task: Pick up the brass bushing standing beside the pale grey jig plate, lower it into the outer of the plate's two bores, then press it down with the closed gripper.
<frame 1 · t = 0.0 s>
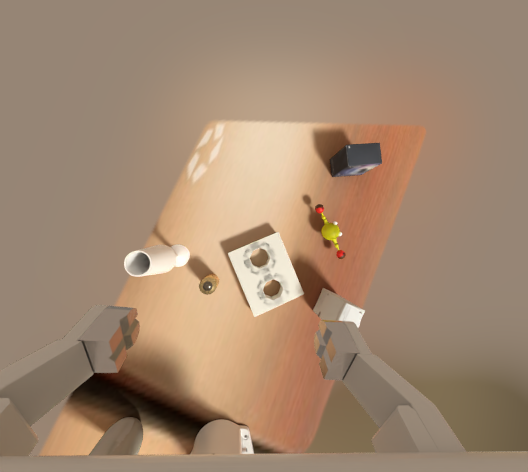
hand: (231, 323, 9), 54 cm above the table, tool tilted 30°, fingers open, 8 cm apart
bushing: (211, 281, 62), on the table
champagne flute: (178, 255, 61), on the table
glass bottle: (131, 426, 58), on the table
jig: (265, 272, 64), on the table
small box: (345, 167, 68), on the table
toy figure: (324, 232, 67), on the table
skincare box: (325, 303, 66), on the table
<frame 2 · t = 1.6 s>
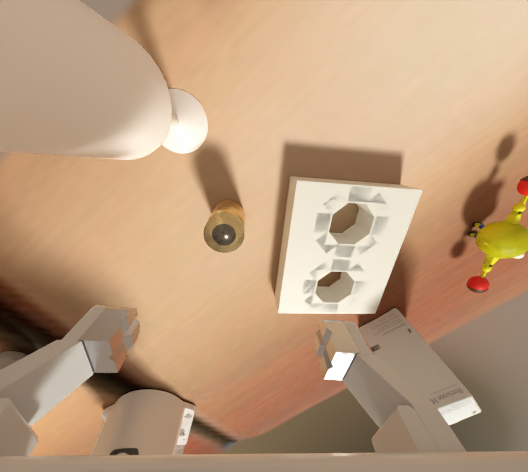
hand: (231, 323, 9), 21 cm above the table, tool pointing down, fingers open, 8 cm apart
bushing: (228, 215, 29), on the table
champagne flute: (179, 123, 24), on the table
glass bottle: (22, 358, 37), on the table
jig: (331, 245, 32), on the table
toy figure: (472, 228, 33), on the table
skincare box: (380, 325, 41), on the table
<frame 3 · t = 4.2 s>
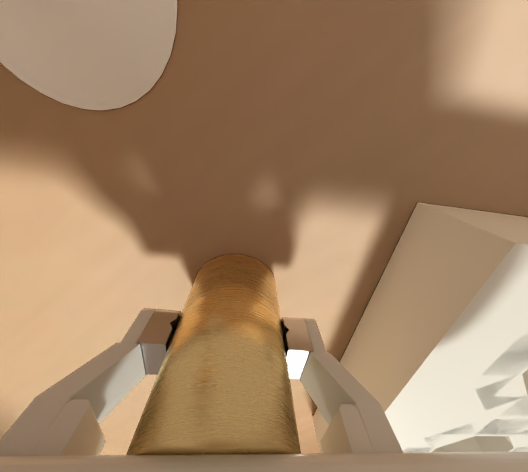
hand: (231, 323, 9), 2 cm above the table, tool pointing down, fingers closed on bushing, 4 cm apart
bushing: (235, 288, 11), on the table, touching gripper
jig: (453, 348, 15), on the table
when the fingers open (5 cm above the table, at t = 9.0 s): bushing drops 3 cm, resting in jig.
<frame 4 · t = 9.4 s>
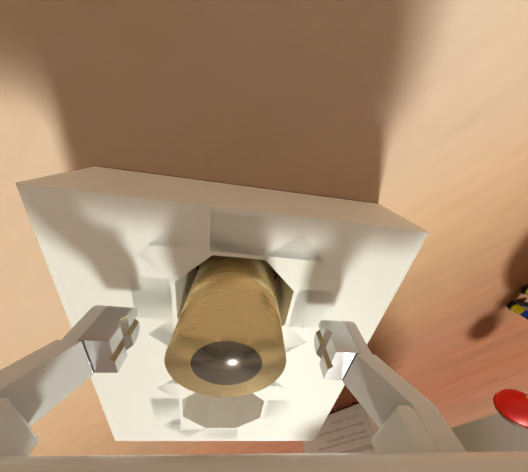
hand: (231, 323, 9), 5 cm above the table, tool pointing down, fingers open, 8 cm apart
bushing: (238, 259, 14), resting in jig
jig: (233, 314, 16), on the table
toy figure: (518, 295, 17), on the table
skincare box: (337, 420, 25), on the table
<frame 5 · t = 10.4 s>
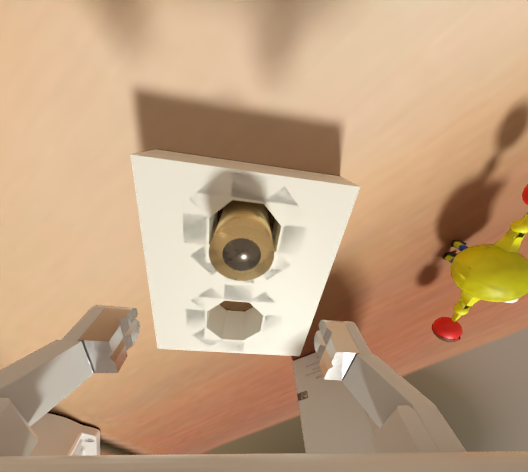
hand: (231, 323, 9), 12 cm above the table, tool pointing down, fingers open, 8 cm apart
bushing: (245, 216, 20), resting in jig
jig: (241, 259, 22), on the table
toy figure: (450, 248, 23), on the table
skincare box: (322, 359, 32), on the table
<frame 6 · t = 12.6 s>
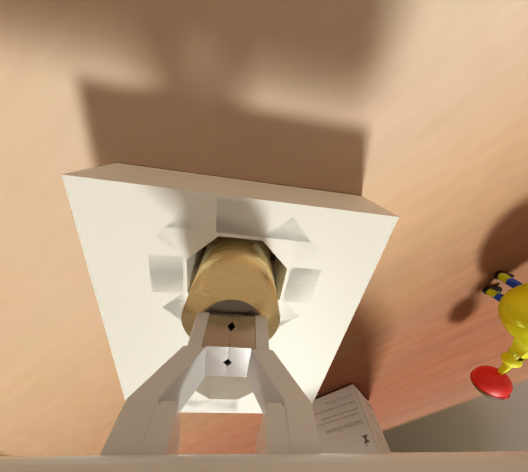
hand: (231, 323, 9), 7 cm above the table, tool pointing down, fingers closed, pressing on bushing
bushing: (239, 246, 16), resting in jig, touching gripper
jig: (234, 297, 18), on the table
toy figure: (492, 280, 19), on the table
skincare box: (331, 402, 27), on the table
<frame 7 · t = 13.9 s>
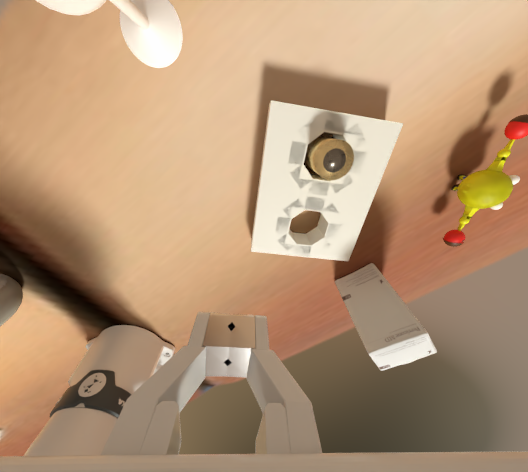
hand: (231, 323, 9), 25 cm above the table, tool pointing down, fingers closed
bushing: (318, 153, 30), resting in jig
champagne flute: (152, 30, 23), on the table
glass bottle: (8, 283, 38), on the table
jig: (310, 188, 32), on the table
toy figure: (457, 182, 32), on the table
skincare box: (356, 280, 41), on the table
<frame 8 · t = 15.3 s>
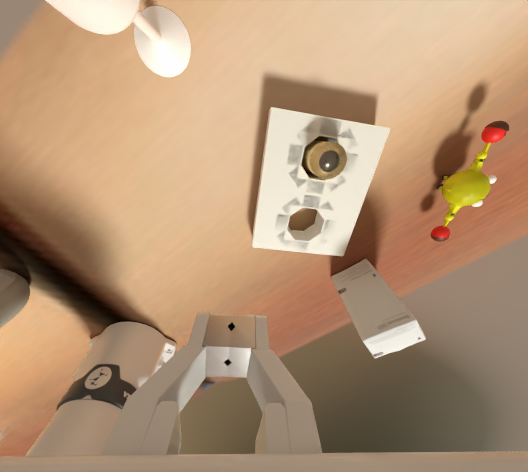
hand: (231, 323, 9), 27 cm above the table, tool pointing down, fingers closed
bushing: (314, 156, 32), resting in jig
champagne flute: (163, 44, 25), on the table
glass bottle: (15, 280, 40), on the table
jig: (307, 188, 34), on the table
toy figure: (442, 182, 35), on the table
skincare box: (351, 276, 43), on the table
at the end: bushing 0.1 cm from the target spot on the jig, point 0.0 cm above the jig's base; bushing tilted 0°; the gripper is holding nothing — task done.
